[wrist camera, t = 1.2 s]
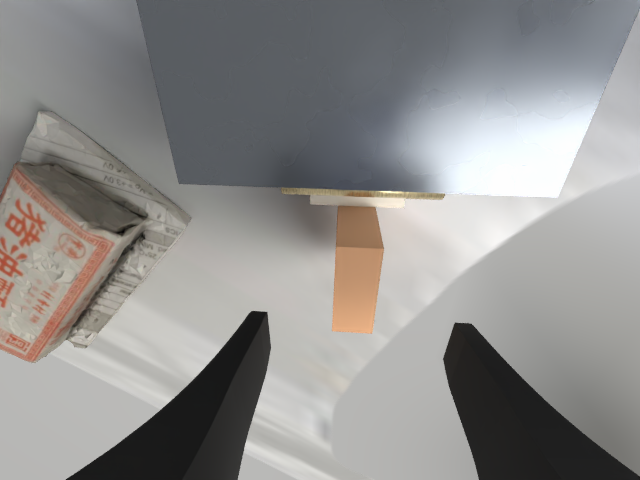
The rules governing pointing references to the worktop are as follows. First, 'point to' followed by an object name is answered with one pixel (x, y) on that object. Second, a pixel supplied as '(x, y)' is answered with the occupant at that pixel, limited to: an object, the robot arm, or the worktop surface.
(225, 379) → the robot arm
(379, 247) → the two-tone stacked block
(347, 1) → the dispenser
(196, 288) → the worktop surface
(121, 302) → the packaged product
